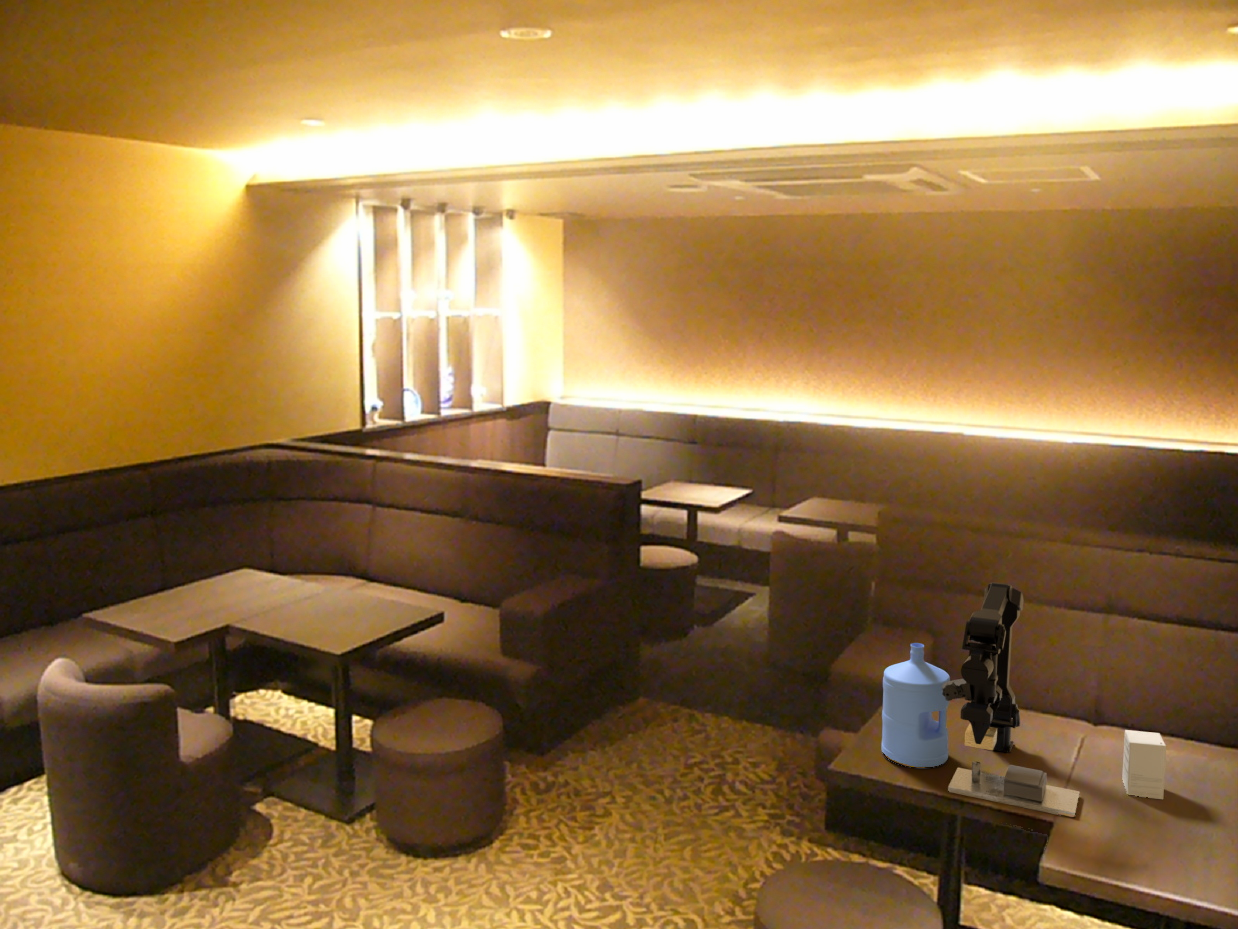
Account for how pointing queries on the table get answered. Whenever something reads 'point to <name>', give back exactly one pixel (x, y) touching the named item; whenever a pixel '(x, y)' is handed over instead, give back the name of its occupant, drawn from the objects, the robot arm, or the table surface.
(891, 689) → the water jug
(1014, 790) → the box
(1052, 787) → the pin plate
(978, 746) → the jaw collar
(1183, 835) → the table surface
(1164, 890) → the table surface
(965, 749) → the table surface
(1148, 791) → the supplement box
